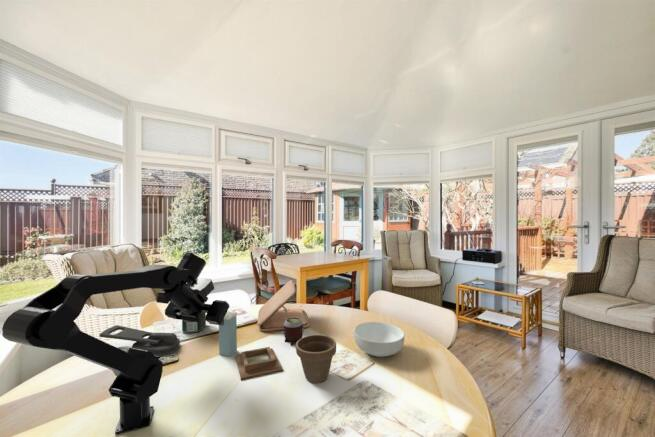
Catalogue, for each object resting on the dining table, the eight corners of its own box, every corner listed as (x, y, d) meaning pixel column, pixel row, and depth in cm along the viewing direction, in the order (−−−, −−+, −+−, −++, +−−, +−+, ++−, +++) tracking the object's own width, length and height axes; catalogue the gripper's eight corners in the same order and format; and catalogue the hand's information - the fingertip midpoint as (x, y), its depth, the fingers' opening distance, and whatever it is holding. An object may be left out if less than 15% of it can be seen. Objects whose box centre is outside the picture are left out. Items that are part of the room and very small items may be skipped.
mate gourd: (304, 337, 110) (304, 298, 109) (300, 347, 102) (300, 305, 101) (284, 337, 110) (284, 297, 110) (279, 346, 103) (279, 304, 102)
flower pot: (299, 392, 77) (299, 354, 77) (293, 369, 88) (292, 336, 88) (341, 385, 80) (341, 349, 80) (330, 364, 91) (330, 332, 91)
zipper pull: (116, 324, 106) (183, 325, 105) (116, 342, 107) (183, 343, 105) (95, 334, 98) (168, 336, 96) (96, 354, 98) (169, 356, 96)
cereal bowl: (381, 370, 88) (381, 347, 87) (343, 349, 101) (343, 329, 100) (414, 352, 98) (414, 332, 98) (376, 336, 111) (376, 317, 111)
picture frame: (282, 370, 87) (282, 362, 87) (240, 380, 83) (240, 371, 83) (272, 350, 100) (272, 342, 100) (235, 357, 96) (235, 349, 96)
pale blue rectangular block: (229, 356, 96) (229, 317, 95) (219, 354, 97) (218, 315, 97) (237, 350, 100) (236, 313, 99) (226, 349, 101) (226, 311, 101)
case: (259, 314, 135) (258, 280, 134) (304, 311, 138) (304, 277, 138) (256, 333, 114) (256, 293, 114) (310, 329, 118) (310, 290, 117)
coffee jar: (188, 324, 123) (187, 280, 122) (208, 323, 123) (207, 279, 123) (178, 334, 113) (177, 286, 112) (199, 333, 114) (199, 285, 113)
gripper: (225, 273, 82) (247, 301, 93) (172, 269, 88) (199, 296, 99) (205, 310, 75) (232, 336, 86) (149, 303, 81) (180, 328, 91)
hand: (210, 322), depth 91 cm, fingers open, 9 cm apart
